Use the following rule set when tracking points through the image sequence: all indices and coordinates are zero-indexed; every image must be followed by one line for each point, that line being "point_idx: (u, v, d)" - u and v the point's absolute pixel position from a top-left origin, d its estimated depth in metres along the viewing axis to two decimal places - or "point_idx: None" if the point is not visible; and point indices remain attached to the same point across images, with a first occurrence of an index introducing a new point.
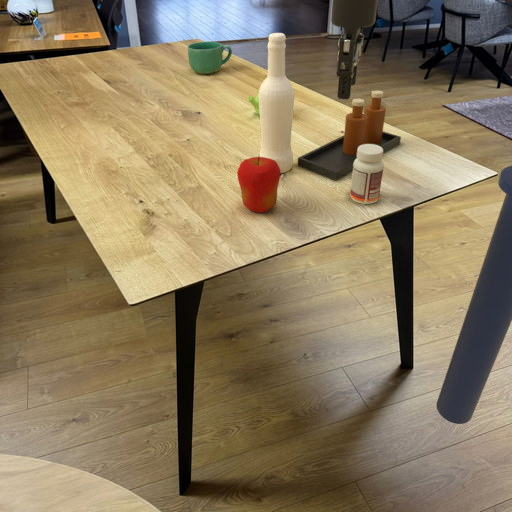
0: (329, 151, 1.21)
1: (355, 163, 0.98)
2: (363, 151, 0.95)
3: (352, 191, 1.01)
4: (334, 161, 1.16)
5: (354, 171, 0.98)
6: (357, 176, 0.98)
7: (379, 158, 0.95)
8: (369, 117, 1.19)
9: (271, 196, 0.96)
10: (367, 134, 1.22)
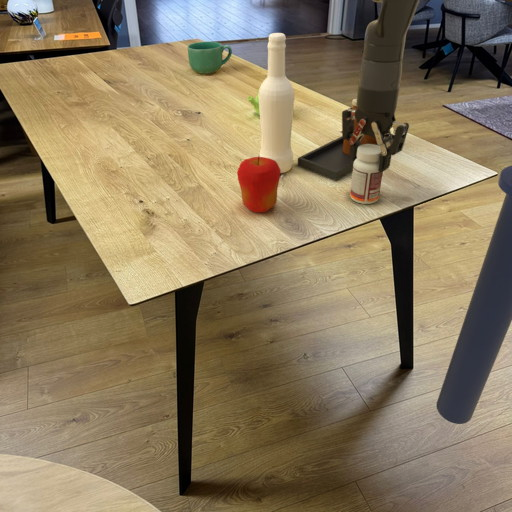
0: (329, 151, 1.21)
1: (355, 163, 0.98)
2: (363, 151, 0.95)
3: (352, 191, 1.01)
4: (334, 161, 1.16)
5: (354, 171, 0.98)
6: (357, 176, 0.98)
7: (379, 158, 0.95)
8: None
9: (271, 196, 0.96)
10: None
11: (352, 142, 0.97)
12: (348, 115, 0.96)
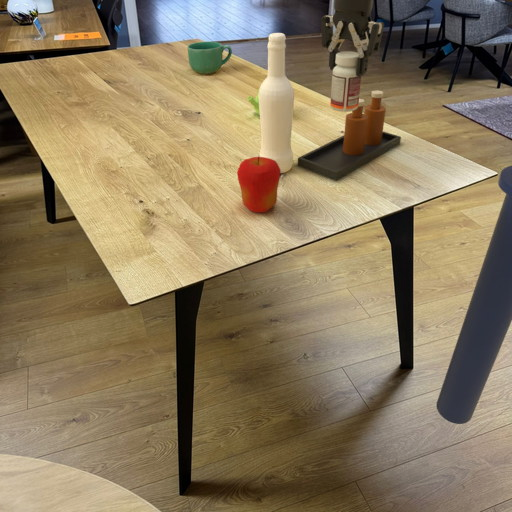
0: (329, 151, 1.21)
1: (334, 69, 1.01)
2: (341, 56, 0.98)
3: (332, 100, 1.04)
4: (334, 161, 1.16)
5: (333, 78, 1.02)
6: (336, 82, 1.01)
7: None
8: (369, 117, 1.19)
9: (271, 196, 0.96)
10: (367, 134, 1.22)
11: (331, 49, 1.00)
12: (327, 21, 0.99)
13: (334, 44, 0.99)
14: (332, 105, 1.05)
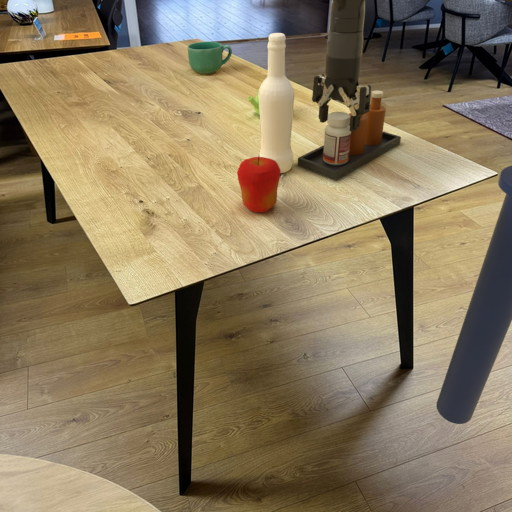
0: None
1: (326, 128, 1.11)
2: (332, 117, 1.09)
3: (324, 154, 1.14)
4: None
5: (325, 136, 1.12)
6: (328, 140, 1.11)
7: (346, 123, 1.09)
8: (369, 117, 1.19)
9: (271, 196, 0.96)
10: (367, 134, 1.22)
11: (320, 104, 1.10)
12: (319, 81, 1.09)
13: (323, 101, 1.09)
14: (324, 159, 1.15)
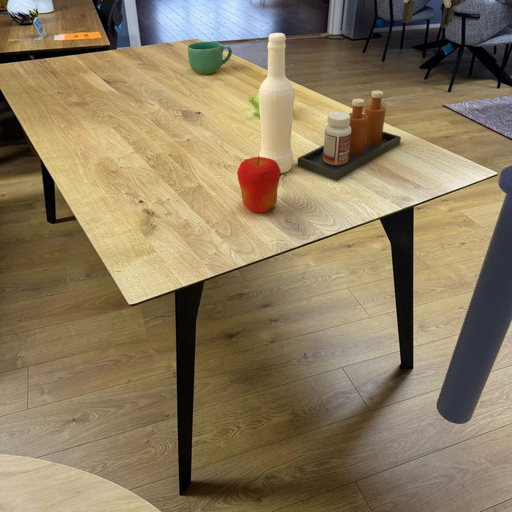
0: None
1: (326, 128, 1.11)
2: (332, 117, 1.09)
3: (324, 154, 1.14)
4: None
5: (325, 136, 1.12)
6: (328, 140, 1.11)
7: (346, 123, 1.09)
8: (369, 117, 1.19)
9: (271, 196, 0.96)
10: (367, 134, 1.22)
11: (406, 0, 1.01)
12: None
13: None
14: (324, 159, 1.15)
